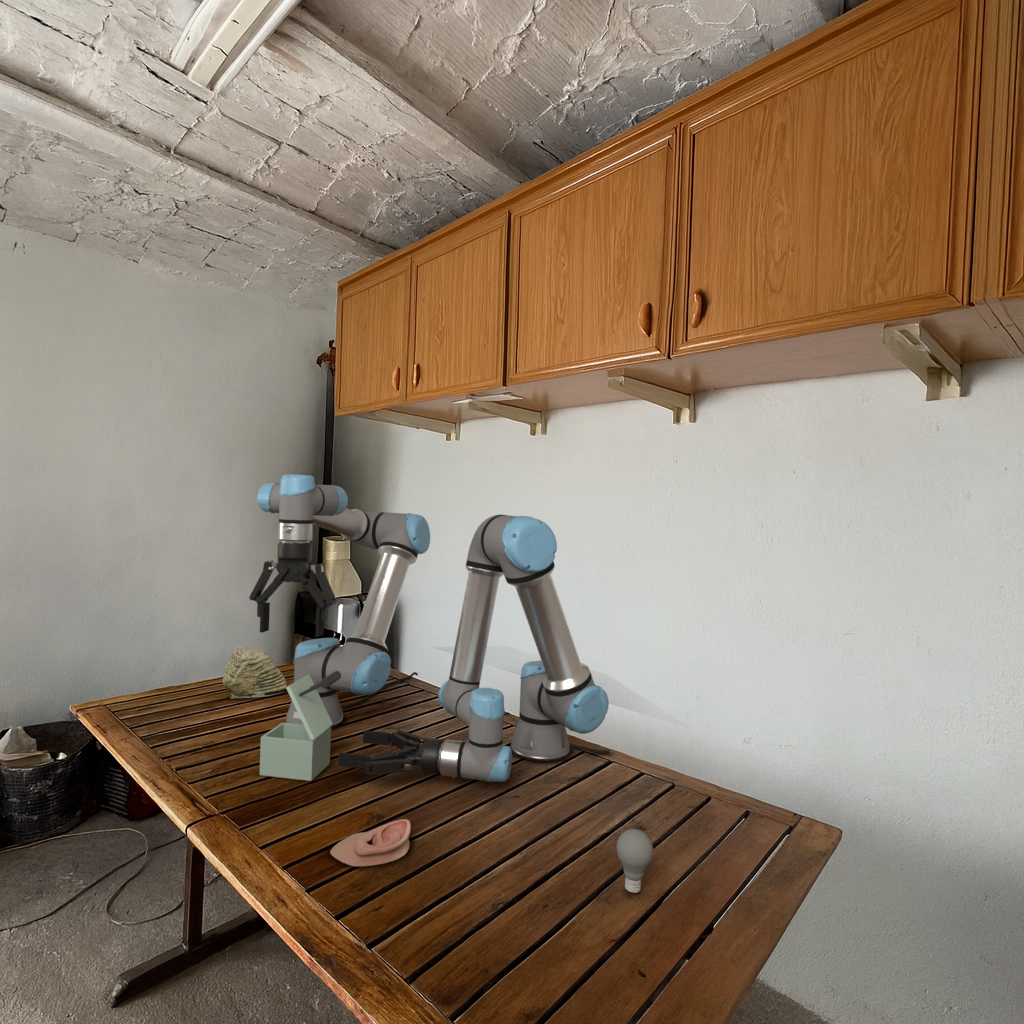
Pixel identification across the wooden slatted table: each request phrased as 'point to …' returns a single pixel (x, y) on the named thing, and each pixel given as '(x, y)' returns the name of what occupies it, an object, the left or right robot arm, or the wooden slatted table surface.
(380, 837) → the anatomical model
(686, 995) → the wooden slatted table surface
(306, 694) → the lid
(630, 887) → the light bulb
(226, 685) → the fossil
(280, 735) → the chest
